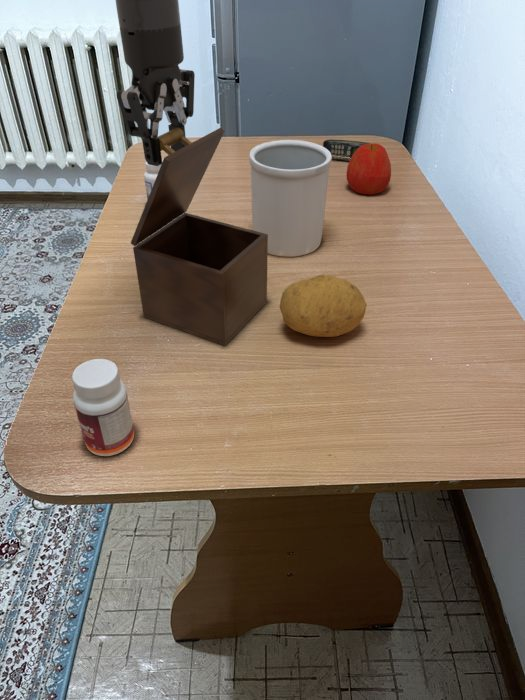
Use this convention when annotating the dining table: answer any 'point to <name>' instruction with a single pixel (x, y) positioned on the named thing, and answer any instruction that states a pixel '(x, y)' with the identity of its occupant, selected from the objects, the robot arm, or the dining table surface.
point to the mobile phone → (342, 148)
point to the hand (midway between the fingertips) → (166, 157)
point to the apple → (369, 169)
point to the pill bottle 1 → (102, 407)
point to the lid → (176, 180)
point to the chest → (203, 276)
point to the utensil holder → (289, 194)
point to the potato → (322, 306)
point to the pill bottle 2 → (150, 177)
